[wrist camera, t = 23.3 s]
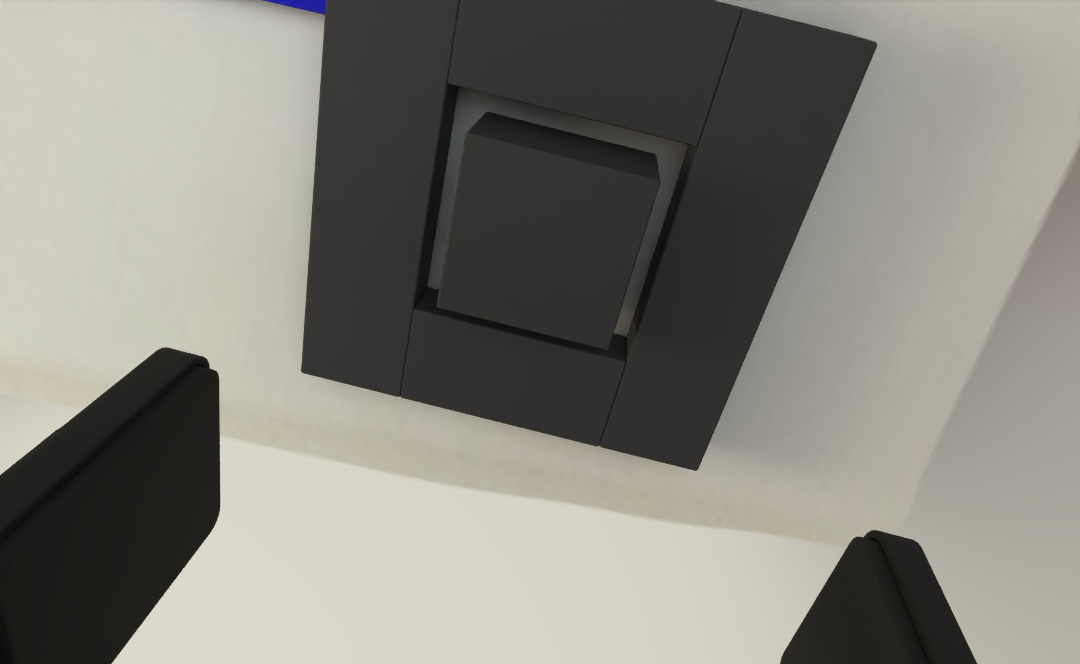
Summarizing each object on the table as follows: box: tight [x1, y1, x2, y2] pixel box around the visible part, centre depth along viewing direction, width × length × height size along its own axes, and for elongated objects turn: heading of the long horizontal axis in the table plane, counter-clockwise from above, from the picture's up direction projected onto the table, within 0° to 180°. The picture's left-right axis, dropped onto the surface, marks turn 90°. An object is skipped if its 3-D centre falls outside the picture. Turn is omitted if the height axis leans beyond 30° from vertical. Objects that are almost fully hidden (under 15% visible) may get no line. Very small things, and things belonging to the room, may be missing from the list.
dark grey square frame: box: [301, 0, 877, 471], centre depth 24 cm, size 16×16×2 cm
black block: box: [437, 112, 660, 350], centre depth 24 cm, size 6×6×4 cm
